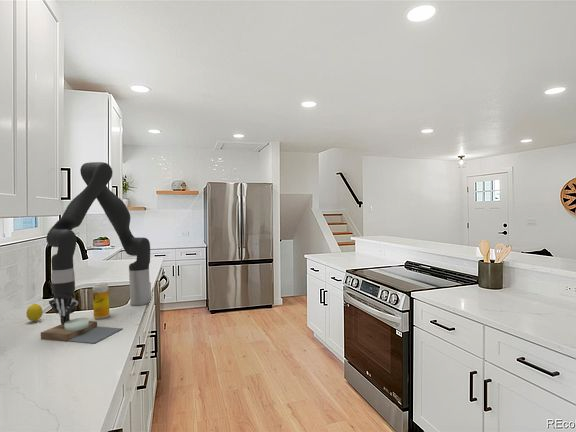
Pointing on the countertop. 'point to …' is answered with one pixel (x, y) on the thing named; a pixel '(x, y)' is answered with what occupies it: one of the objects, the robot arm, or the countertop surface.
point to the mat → (95, 335)
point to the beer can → (101, 300)
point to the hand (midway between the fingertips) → (65, 324)
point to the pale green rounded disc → (76, 324)
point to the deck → (65, 332)
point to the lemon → (34, 312)
